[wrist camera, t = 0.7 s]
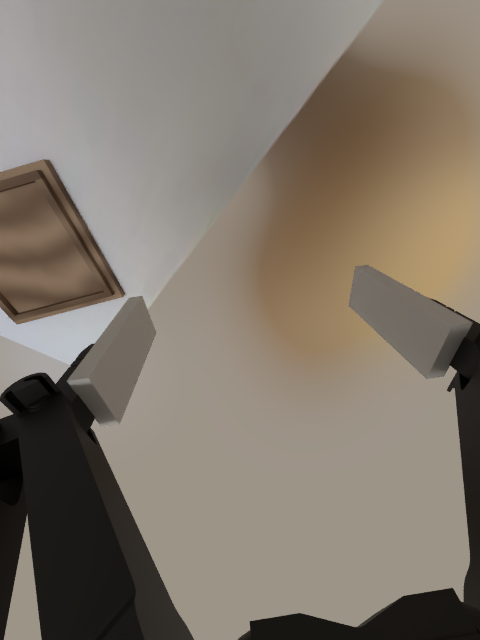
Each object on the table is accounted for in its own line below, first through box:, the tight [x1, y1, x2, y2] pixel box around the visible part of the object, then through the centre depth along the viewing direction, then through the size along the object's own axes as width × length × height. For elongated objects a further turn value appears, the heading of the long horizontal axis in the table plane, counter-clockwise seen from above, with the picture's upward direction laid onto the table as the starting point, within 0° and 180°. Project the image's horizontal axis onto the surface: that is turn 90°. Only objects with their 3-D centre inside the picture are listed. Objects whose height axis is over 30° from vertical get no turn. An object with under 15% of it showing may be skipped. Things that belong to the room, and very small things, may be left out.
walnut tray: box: [0, 160, 125, 324], centre depth 36 cm, size 21×21×2 cm
